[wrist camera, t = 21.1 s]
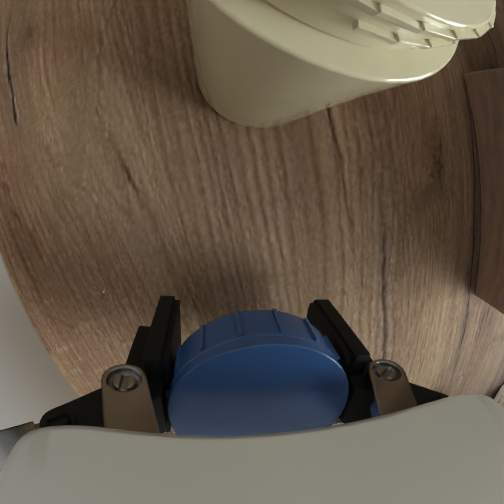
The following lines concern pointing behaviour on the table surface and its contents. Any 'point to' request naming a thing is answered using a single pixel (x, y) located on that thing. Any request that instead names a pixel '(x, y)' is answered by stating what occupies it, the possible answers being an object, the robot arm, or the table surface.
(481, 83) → the tissue box cover
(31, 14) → the table surface
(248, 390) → the jar lid
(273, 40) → the jar
